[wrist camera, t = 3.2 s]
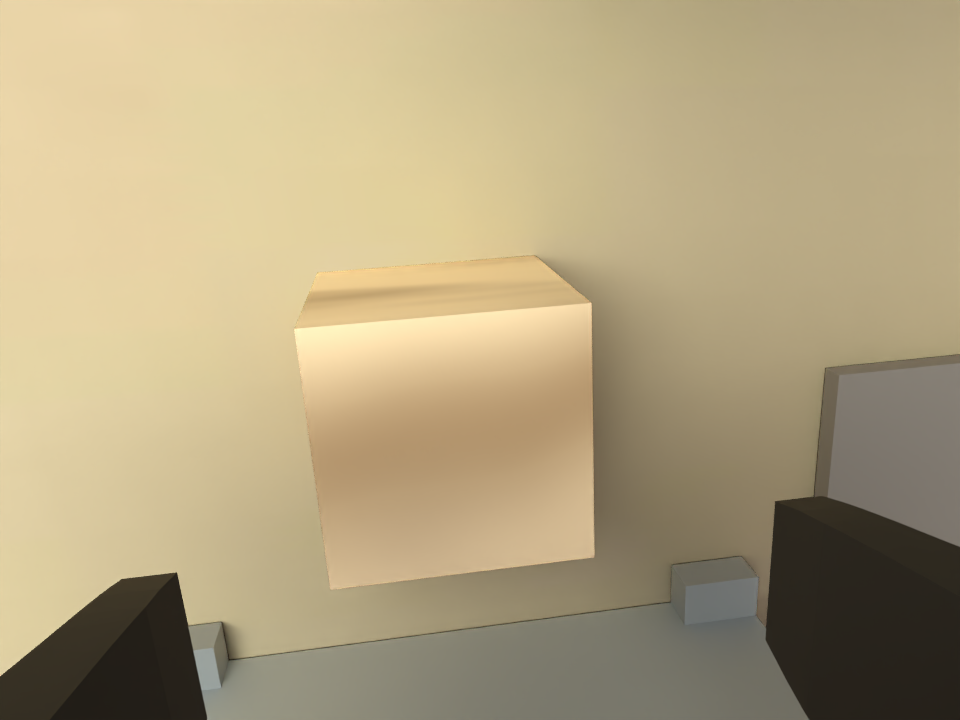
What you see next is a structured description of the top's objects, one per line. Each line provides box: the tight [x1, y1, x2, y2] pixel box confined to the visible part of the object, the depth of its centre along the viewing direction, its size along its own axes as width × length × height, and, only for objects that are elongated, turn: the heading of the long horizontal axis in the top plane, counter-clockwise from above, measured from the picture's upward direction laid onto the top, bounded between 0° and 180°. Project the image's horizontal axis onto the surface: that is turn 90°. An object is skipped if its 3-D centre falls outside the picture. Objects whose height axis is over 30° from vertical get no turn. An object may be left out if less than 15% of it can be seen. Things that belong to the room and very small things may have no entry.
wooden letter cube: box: [294, 255, 594, 590], centre depth 16 cm, size 5×5×5 cm
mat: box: [814, 355, 960, 547], centre depth 21 cm, size 8×8×1 cm
